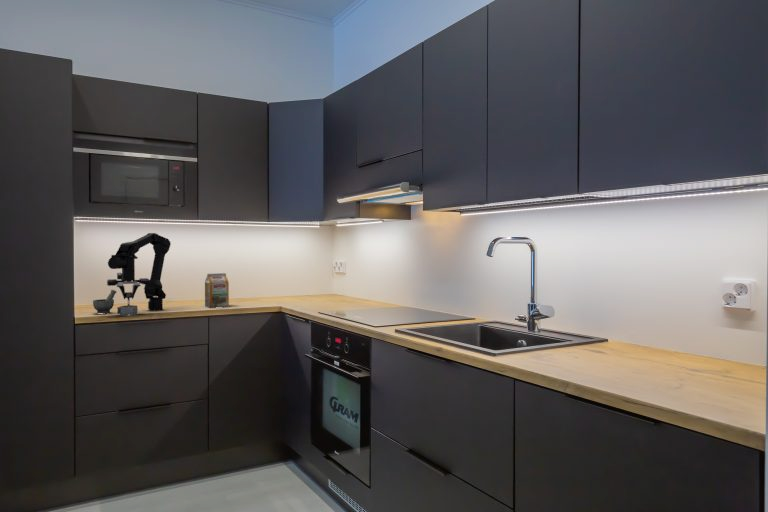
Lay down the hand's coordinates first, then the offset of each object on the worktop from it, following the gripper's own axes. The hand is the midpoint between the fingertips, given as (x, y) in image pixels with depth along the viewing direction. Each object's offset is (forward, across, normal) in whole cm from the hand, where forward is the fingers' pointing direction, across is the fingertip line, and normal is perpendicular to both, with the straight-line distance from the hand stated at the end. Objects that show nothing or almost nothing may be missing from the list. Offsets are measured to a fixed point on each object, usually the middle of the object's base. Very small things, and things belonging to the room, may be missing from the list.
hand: (128, 299), depth 261 cm
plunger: (+5, 0, 0) cm, 5 cm away
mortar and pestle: (+8, +9, -13) cm, 18 cm away
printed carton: (+8, -47, -11) cm, 49 cm away
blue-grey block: (+8, 0, 0) cm, 8 cm away
